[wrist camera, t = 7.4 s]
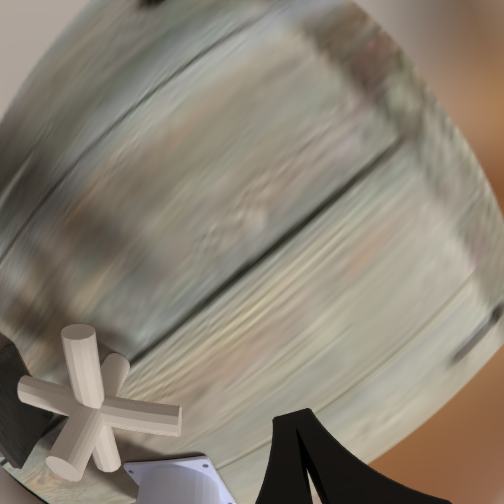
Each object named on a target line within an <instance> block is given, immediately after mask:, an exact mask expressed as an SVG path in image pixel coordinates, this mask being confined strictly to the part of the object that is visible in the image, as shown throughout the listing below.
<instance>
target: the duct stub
mask: <svg viewBox="0 0 504 504" xmlns="http://www.w3.org/2000/svg"><path fill="white" fill-rule="evenodd" d="M24 375H27V376H30V377H31V375H30V373H29V371H28V369H27V367H26V365H25V363H24V361H23V360H22V358H21V356H20V354H19V351H18V349H16V347H15V345H14V344H10V345H6V346H5V347H4V348H3V349H2V350H0V457H5V458H6V459H7V461H8V462H9V463H10V464H11V465H12V467H14V468H19V469H22V467H23V465H24V463H25V462H26V460H27V458H28V456H29V455H30V453H31V451H32V450H33V448H34V446H35V445H36V443H37V441H38V440H39V438H40V436H41V435H42V433H43V431H44V430H45V428H46V427H47V425H48V423H49V422H50V420H51V419H52V417H53V413H52V412H51V411H48V410H45V409H42V408H39V407H36V406H33V405H30V404H27V403H24V402H21V400H20V398H19V397H18V391H17V389H18V382H19V381H20V379H21V377H23V376H24Z"/></svg>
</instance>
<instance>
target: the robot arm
mask: <svg viewBox="0 0 504 504" xmlns="http://www.w3.org/2000/svg"><path fill="white" fill-rule="evenodd" d="M272 421H273V436H272V445H271V451H270V457H269V462H268V466H267V470H266V474H265V477H264V481H263V484H262V487H261V490H260V493H259V495H258V498H257V500H256V503H255V504H313V501H312V496H311V490H310V484H309V479H308V473H309V475H310V477H311V480H312V482H313V484H314V486H315V489H316V491H317V493H318V496H319V497H320V500H321V502H322V504H452V503H451V502H450V501H448V500H445V499H441V498H437V497H434V496H431V495H427V494H424V493H421V492H419V491H416V490H413V489H411V488H408V487H406V486H404V485H402V484H400V483H398V482H395V481H393V480H392V479H389V478H387V477H386V476H384V475H382V474H381V473H379V472H377V471H375V470H374V469H372V468H371V467H369V466H368V465H366V464H365V463H363V462H362V461H361V460H359V459H358V458H357V457H355V456H354V455H353V454H352V453H350V452H349V451H348V450H347V449H346V448H345V447H343V446H342V445H341V444H340V443H339V442H338V441H337V440H336V439H335V438H334V437H333V436H332V435H331V434H330V433H329V432H328V431H327V430H326V429H325V428H324V426H323V425H322V424H321V423H320V422H319V420H318V419H317V418H316V416H315V415H314V414H313V412H312V410H311V409H309V408H306V409H302V410H299V411H295V412H292V413H288V414H285V415H281V416H277V417H274V419H273V420H272ZM123 467H124V469H125V470H126V472H127V473H128V474H129V475H130V476H131V478H132V479H133V480H134V481H135V482H136V484H137V485H138V486H139V491H138V496H137V500H136V504H237V503H236V502H235V500H234V499H233V497H232V496H231V494H230V492H229V491H228V489H227V488H226V486H225V485H224V483H223V481H222V480H221V478H220V476H219V475H218V473H217V471H216V470H215V468H214V466H213V465H212V463H211V461H210V459H209V458H208V457H206V456H199V457H191V458H183V459H174V460H163V461H150V462H131V463H125V464H124V466H123ZM307 470H308V473H307Z"/></svg>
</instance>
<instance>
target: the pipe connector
mask: <svg viewBox="0 0 504 504" xmlns="http://www.w3.org/2000/svg"><path fill="white" fill-rule="evenodd" d="M61 338H62V344H63V349H64V355H65V360H66V365H67V370H68V374H69V379H70V383H71V387H72V388H70V387H66V386H62V385H58V384H55V383H51V382H47V381H44V380H40V379H37V378H33V377H30V376H27V375H24V376H23V377H21V379H20V381H19V382H18V389H17V391H18V397H19V398H20V400H21V402H24V403H27V404H30V405H33V406H36V407H39V408H42V409H45V410H48V411H52V412H55V413H58V414H62V415H65V416H69V419H68V421H67V422H66V424H65V426H64V427H63V429H62V431H61V433H60V434H59V436H58V438H57V440H56V442H55V443H54V445H53V447H52V449H51V450H50V452H49V454H48V456H47V458H46V463H47V465H48V466H49V468H50V469H51V470H52V471H53V472H55V473H56V474H57V475H59V476H60V477H62V478H64V479H67V480H70V481H79V480H81V477H82V475H83V472H84V470H85V467H86V465H87V463H88V460H89V458H90V456H91V454H92V457H93V460H94V462H95V465H96V466H97V467H98V469H100V470H102V471H104V472H113V471H115V470H118V468H119V467H120V466H121V460H120V456H119V453H118V449H117V446H116V442H115V438H114V434H113V430H112V427H116V428H122V429H127V430H133V431H139V432H145V433H152V434H159V435H167V436H176V437H180V433H181V423H182V409H181V406H175V405H166V404H158V403H150V402H143V401H136V400H130V399H124V398H118V397H117V395H118V393H119V391H120V389H121V386H122V384H123V382H124V380H125V378H126V376H127V374H128V372H129V369H130V365H129V362H128V360H127V359H126V358H125V357H124V356H123V355H121V354H118V353H111V354H109V355H108V356H107V357H106V359H105V360H104V362H103V363H102V365H101V366H100V363H99V357H98V350H97V342H96V334H95V329H94V328H93V327H92V326H90V325H87V324H72V325H68V326H66V327H65V328H63V329H62V331H61Z"/></svg>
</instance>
